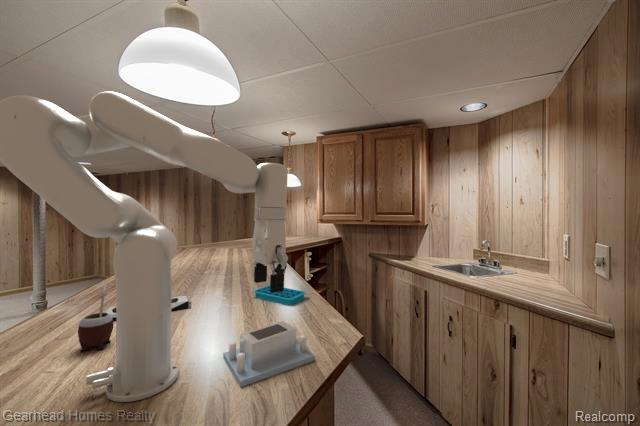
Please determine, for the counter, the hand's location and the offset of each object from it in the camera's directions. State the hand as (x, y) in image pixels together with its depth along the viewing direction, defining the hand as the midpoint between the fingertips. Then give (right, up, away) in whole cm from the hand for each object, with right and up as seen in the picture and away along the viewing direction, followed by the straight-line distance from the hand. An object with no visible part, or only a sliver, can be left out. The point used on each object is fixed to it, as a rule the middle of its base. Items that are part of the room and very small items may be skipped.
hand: (268, 286), depth 64 cm
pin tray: (0, -18, 0) cm, 18 cm away
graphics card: (-48, -18, +31) cm, 59 cm away
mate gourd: (-46, -17, +5) cm, 49 cm away
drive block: (0, -16, 0) cm, 16 cm away
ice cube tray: (-4, -18, +46) cm, 50 cm away
